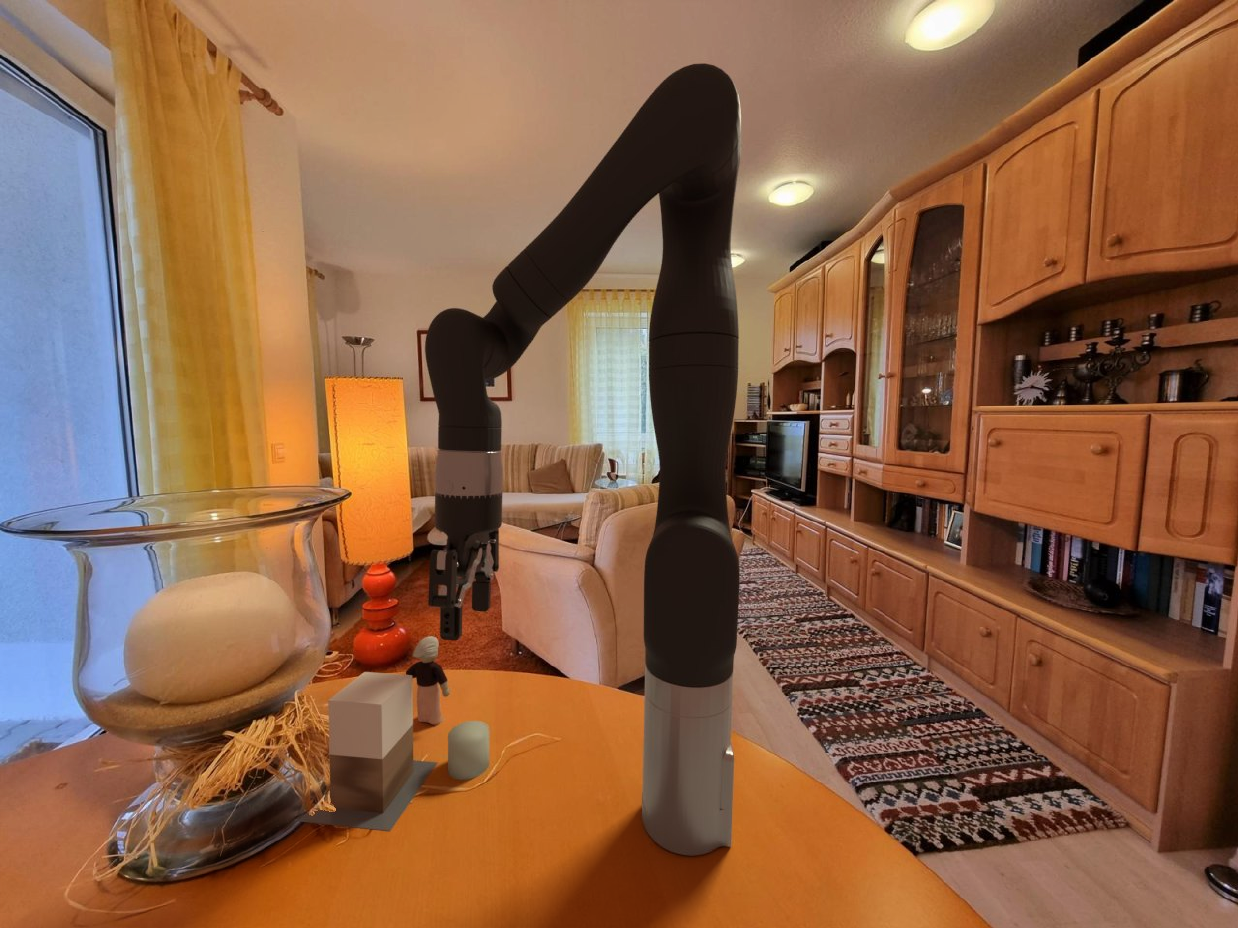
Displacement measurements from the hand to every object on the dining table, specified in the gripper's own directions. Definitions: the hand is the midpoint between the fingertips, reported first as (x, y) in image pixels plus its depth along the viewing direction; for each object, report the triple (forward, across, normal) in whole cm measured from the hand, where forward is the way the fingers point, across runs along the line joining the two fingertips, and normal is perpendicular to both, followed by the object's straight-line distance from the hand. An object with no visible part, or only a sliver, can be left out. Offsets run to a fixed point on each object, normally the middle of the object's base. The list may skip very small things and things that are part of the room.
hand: (467, 623), depth 56 cm
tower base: (+18, -5, +9) cm, 21 cm away
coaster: (+19, -5, +8) cm, 21 cm away
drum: (+19, 0, 0) cm, 19 cm away
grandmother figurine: (+19, +8, +9) cm, 23 cm away
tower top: (+12, -5, +9) cm, 16 cm away
